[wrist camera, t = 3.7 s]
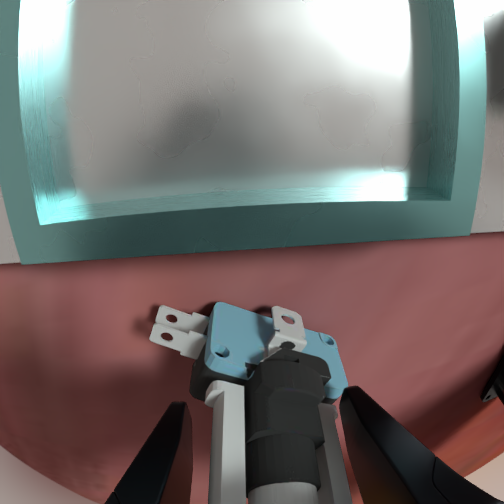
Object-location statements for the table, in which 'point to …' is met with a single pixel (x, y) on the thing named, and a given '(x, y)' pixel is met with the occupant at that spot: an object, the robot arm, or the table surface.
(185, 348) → the push button
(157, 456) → the robot arm
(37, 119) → the teal-edged white tray
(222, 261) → the table surface
